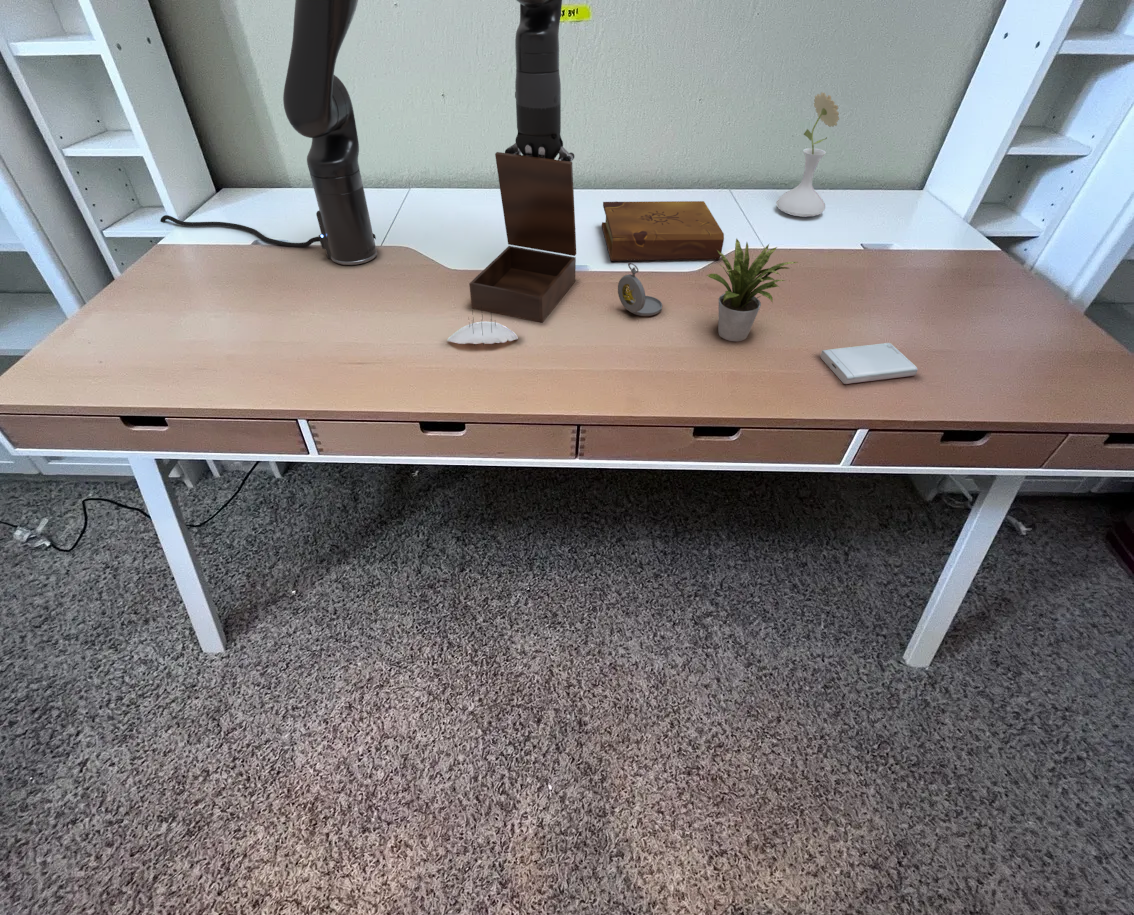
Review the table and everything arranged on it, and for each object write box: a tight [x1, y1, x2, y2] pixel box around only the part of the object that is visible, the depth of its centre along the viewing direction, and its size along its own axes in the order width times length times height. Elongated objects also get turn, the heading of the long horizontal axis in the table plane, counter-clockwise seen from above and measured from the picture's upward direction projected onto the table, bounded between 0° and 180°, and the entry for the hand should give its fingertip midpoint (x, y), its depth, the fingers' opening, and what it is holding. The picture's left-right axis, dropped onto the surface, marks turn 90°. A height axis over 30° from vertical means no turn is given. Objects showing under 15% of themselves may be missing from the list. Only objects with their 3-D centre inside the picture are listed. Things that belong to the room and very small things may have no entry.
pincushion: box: [446, 306, 519, 347], centre depth 105 cm, size 12×6×6 cm, turn 95°
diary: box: [601, 200, 725, 262], centre depth 135 cm, size 23×19×6 cm
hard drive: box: [819, 342, 919, 385], centre depth 102 cm, size 2×8×12 cm
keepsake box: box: [468, 245, 577, 324], centre depth 118 cm, size 17×14×5 cm
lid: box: [494, 151, 577, 257], centre depth 115 cm, size 18×14×1 cm
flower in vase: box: [775, 91, 840, 218], centre depth 143 cm, size 13×11×25 cm
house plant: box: [706, 238, 798, 342], centre depth 103 cm, size 14×14×16 cm
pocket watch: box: [617, 262, 663, 317], centre depth 112 cm, size 8×8×10 cm
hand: (540, 204), depth 116 cm, fingers closed
